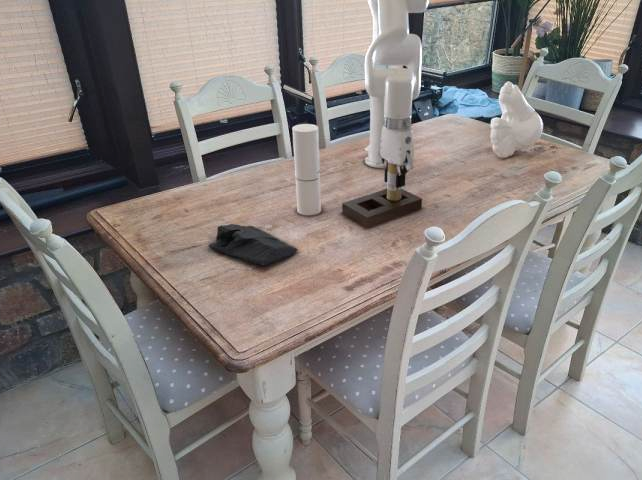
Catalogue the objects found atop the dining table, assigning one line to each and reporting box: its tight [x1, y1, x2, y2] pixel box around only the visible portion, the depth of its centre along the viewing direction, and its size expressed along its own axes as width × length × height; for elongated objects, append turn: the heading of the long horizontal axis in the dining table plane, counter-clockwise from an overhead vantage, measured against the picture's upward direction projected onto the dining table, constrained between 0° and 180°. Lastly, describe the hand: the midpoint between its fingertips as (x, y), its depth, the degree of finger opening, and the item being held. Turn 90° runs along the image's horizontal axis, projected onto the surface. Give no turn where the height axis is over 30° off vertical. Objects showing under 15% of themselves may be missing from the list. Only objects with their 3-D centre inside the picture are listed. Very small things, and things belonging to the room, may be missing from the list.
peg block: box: [341, 188, 423, 229], centre depth 161 cm, size 12×21×4 cm, turn 127°
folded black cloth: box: [208, 223, 299, 266], centre depth 141 cm, size 15×22×5 cm
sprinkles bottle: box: [386, 157, 403, 201], centre depth 159 cm, size 5×5×14 cm
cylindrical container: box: [291, 123, 322, 216], centre depth 156 cm, size 7×7×25 cm
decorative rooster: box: [489, 80, 544, 159], centre depth 198 cm, size 25×16×25 cm
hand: (394, 183), depth 160 cm, fingers closed on sprinkles bottle, 4 cm apart
